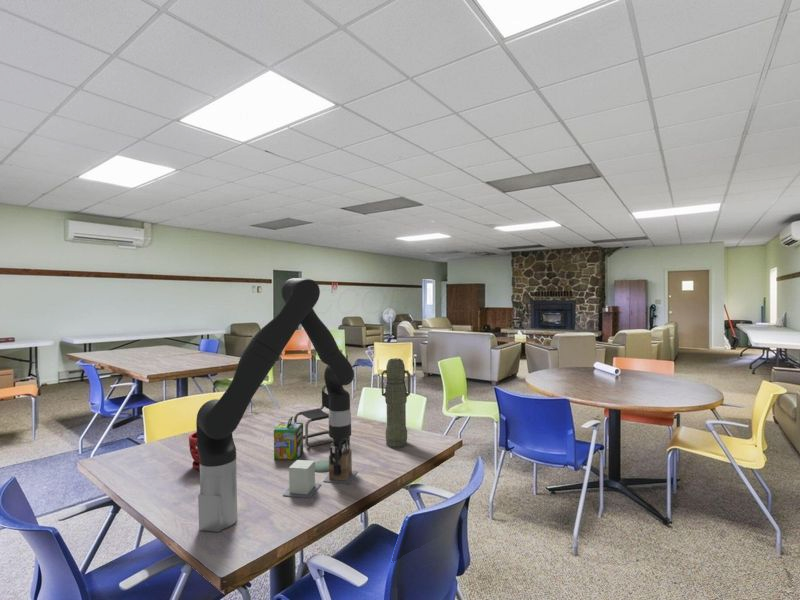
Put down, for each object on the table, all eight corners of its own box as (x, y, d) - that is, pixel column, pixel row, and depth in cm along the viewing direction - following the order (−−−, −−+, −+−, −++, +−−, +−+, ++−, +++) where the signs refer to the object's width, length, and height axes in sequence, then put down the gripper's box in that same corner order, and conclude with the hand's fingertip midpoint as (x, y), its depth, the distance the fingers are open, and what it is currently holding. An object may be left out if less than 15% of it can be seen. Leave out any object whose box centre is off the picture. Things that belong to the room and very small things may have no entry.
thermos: (411, 447, 167) (410, 360, 166) (382, 448, 167) (381, 361, 166) (410, 439, 176) (409, 357, 175) (382, 440, 175) (381, 357, 175)
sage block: (307, 494, 128) (307, 468, 128) (289, 492, 130) (289, 467, 129) (315, 485, 134) (314, 460, 134) (297, 484, 135) (297, 459, 135)
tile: (349, 483, 136) (349, 482, 136) (323, 481, 138) (323, 480, 138) (357, 472, 145) (357, 471, 145) (332, 470, 146) (332, 469, 146)
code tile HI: (310, 498, 127) (310, 497, 127) (282, 495, 128) (282, 494, 128) (321, 484, 136) (321, 483, 136) (295, 482, 137) (295, 481, 137)
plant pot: (236, 459, 157) (235, 428, 157) (211, 474, 144) (211, 440, 144) (207, 456, 161) (206, 425, 160) (181, 470, 148) (180, 437, 148)
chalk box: (281, 450, 165) (280, 413, 165) (304, 450, 165) (303, 413, 165) (273, 460, 156) (272, 421, 156) (297, 460, 156) (296, 421, 156)
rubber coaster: (330, 472, 144) (330, 471, 144) (306, 471, 146) (306, 470, 146) (339, 462, 153) (339, 461, 153) (316, 460, 155) (316, 459, 155)
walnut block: (346, 480, 138) (346, 456, 137) (329, 479, 139) (328, 455, 139) (351, 472, 144) (351, 449, 143) (335, 471, 145) (334, 448, 144)
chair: (344, 439, 177) (343, 388, 177) (306, 448, 167) (305, 394, 167) (330, 431, 188) (330, 382, 188) (294, 439, 178) (293, 388, 177)
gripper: (343, 429, 133) (344, 480, 133) (356, 416, 147) (357, 462, 147) (321, 428, 134) (322, 479, 135) (336, 415, 149) (337, 461, 149)
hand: (340, 470), depth 141 cm, fingers open, 7 cm apart
